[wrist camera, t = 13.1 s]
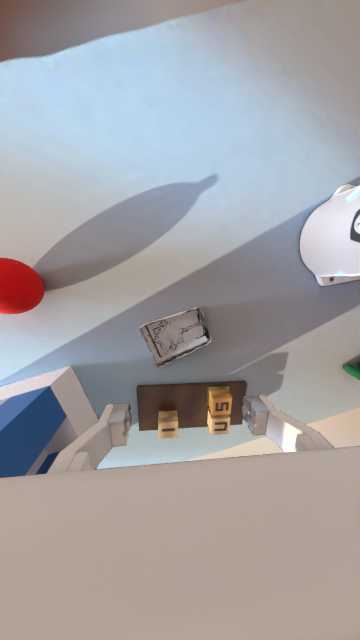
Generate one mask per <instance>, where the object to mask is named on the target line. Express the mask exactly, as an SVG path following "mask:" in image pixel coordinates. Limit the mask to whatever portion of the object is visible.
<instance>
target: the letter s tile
mask: <svg viewBox="0 0 360 640" xmlns="http://www.w3.org/2000/svg"><path fill="white" fill-rule="evenodd" d="M231 405H232V396H231V395H230V393H229V391H228V389H209V400H208V406H209V409H210V412H211V415H226V414H231Z"/></svg>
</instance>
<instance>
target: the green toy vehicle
mask: <svg viewBox="0 0 360 640" xmlns="http://www.w3.org/2000/svg"><path fill="white" fill-rule="evenodd" d="M343 368H344V369H345V370H346V371H347V372H348V373H349V374H351V375H352V376H354V377H355V378H357V379H359V380H360V364H359V365H358V366H357V367H353V366H351V365H348V364H345V365H344V366H343Z"/></svg>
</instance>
